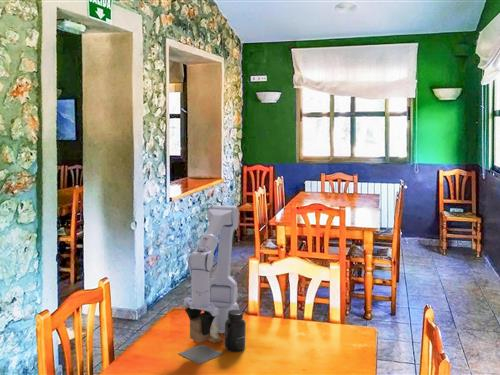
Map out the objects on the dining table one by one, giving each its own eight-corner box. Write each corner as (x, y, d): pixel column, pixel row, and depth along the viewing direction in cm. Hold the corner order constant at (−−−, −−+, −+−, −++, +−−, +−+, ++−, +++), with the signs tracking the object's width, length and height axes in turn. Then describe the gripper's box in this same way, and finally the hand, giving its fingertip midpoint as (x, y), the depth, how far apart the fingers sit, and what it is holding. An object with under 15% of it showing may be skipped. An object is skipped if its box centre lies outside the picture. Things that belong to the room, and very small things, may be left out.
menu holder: (195, 334, 176) (195, 317, 176) (202, 332, 178) (202, 315, 178) (215, 343, 169) (215, 325, 169) (221, 340, 171) (221, 323, 171)
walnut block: (201, 334, 163) (201, 315, 163) (210, 338, 160) (210, 319, 160) (190, 338, 160) (189, 319, 160) (199, 342, 157) (199, 323, 156)
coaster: (202, 344, 168) (202, 344, 168) (223, 354, 161) (223, 353, 161) (178, 353, 161) (178, 353, 161) (198, 364, 154) (198, 363, 154)
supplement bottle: (243, 353, 162) (243, 316, 161) (222, 351, 163) (222, 315, 162) (247, 344, 169) (247, 309, 167) (227, 342, 170) (227, 307, 169)
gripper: (176, 287, 161) (176, 328, 163) (205, 298, 151) (205, 342, 152) (193, 282, 166) (193, 322, 168) (223, 293, 156) (223, 335, 157)
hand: (200, 331), depth 160 cm, fingers closed on walnut block, 4 cm apart
